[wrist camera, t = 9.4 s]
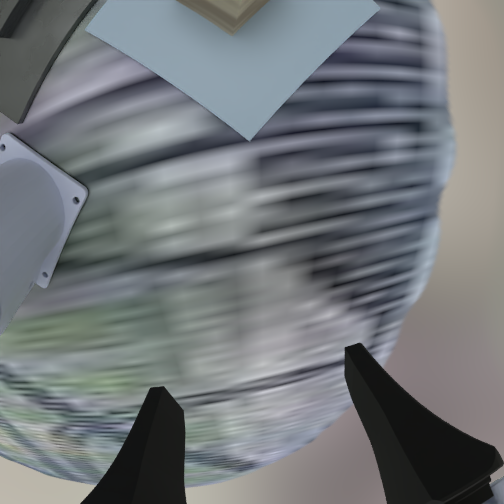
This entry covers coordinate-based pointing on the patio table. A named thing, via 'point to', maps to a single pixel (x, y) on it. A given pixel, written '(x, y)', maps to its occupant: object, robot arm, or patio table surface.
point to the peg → (225, 11)
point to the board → (232, 50)
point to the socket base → (32, 46)
